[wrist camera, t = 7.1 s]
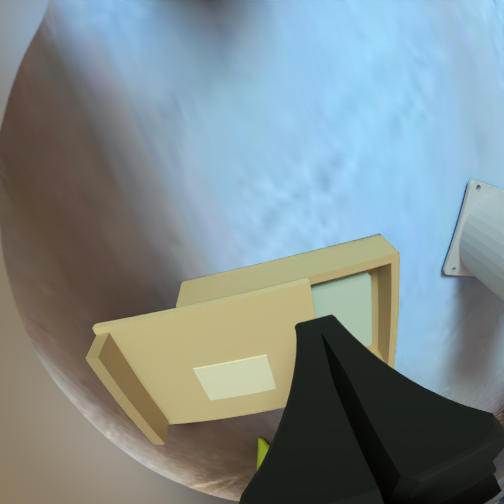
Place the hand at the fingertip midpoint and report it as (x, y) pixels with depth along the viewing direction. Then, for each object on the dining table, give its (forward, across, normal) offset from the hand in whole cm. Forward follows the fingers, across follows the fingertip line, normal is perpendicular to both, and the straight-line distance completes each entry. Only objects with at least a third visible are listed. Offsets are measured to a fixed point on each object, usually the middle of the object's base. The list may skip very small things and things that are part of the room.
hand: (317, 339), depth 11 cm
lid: (+7, +6, +7) cm, 12 cm away
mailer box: (+10, 0, +7) cm, 13 cm away
